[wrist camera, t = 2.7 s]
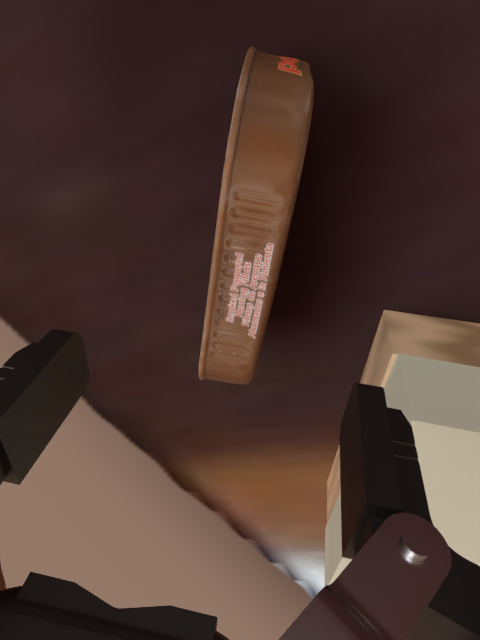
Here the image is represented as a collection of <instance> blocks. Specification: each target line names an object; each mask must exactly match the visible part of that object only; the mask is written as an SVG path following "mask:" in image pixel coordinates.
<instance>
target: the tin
mask: <svg viewBox="0 0 480 640" xmlns="http://www.w3.org/2000/svg"><path fill="white" fill-rule="evenodd" d="M313 100H314V84H313V79H312V76H311V71H310V66H309V64H308V63H307V62H305V61H303V60H299V59H295V58H289V57H282V56H276V55H271V54H266V53H262V52H259V51H257V49H256V48H254V47H250V48H249V50H248V52H247V54H246V57H245V61H244V64H243V67H242V72H241V75H240V80H239V84H238V88H237V93H236V99H235V103H234V109H233V115H232V121H231V127H230V132H229V138H228V143H227V150H226V156H225V164H224V170H223V177H222V185H221V192H220V199H219V207H218V216H217V223H216V231H215V240H214V246H213V255H212V264H211V271H210V281H209V288H208V296H207V305H206V313H205V320H204V329H203V336H202V343H201V351H200V359H199V379H200V380H204V379H210V380H216V381H222V382H227V383H234V384H248V383H249V382H250V381H251V380H252V378H253V375H254V372H255V369H256V365H257V362H258V358H259V354H260V350H261V346H262V342H263V338H264V334H265V330H266V326H267V323H268V318H269V314H270V310H271V306H272V302H273V298H274V294H275V290H276V286H277V282H278V277H279V273H280V269H281V264H282V260H283V255H284V251H285V247H286V243H287V238H288V233H289V228H290V224H291V219H292V215H293V211H294V207H295V202H296V198H297V193H298V188H299V184H300V179H301V174H302V169H303V164H304V158H305V153H306V148H307V142H308V136H309V131H310V124H311V117H312V109H313Z"/></svg>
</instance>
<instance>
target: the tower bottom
mask: <svg viewBox="0 0 480 640" xmlns="http://www.w3.org/2000/svg"><path fill="white" fill-rule="evenodd" d="M398 353H401V354H407V355H412V356H418V357H424V358H429V359H435V360H441V361H447V362H452V363H458V364H464V365H469V366H475V367H480V324H478V323H472V322H465V321H458V320H451V319H444V318H437V317H430V316H424V315H417V314H410V313H403V312H396V311H389V310H384V311H383V314H382V317H381V320H380V323H379V326H378V329H377V332H376V335H375V338H374V341H373V344H372V347H371V350H370V353H369V356H368V359H367V362H366V365H365V368H364V371H363V375H362V378H361V381H360V383H362V384H368V385H373V386H379V387H383V388H384V385H385V383H386V380H387V378H388V376H389V373H390V371H391V368H392V366H393V364H394V361H395V359H396V356H397V354H398ZM340 491H341V484H340V444H339V447H338V450H337V454H336V457H335V460H334V463H333V466H332V469H331V472H330V475H329V478H328V481H327V523H328V520H329V518H330V516H331V513H332V511H333V508H334V506H335V503H336V501H337V499H338V496H339V494H340Z"/></svg>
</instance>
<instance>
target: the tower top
mask: <svg viewBox="0 0 480 640" xmlns="http://www.w3.org/2000/svg"><path fill="white" fill-rule="evenodd" d="M384 391H385V398H386V404H387V407H388V408H394V409H399V410H401V411H402V412H403V414H404V415H405V417H406V418H407V420H408V421H409V423H410V424H411V426H412V430H413V435H414V439H415V447H416V449H417V454H418V462H419V464H420V469H421V473H422V478H423V483H424V488H425V493H426V498H427V502H428V507H429V512H430V517H431V520H432V523H433V525H434V527H436V528H437V529H438V531H439V532H440V533H441V534H442V536H443V537H444V538H445V540H446V542H447V544H448V546H449V547H450V548H451V549H453V550H454V551H455V552H456V553H458V554H459V555H460V556H462V557H464V558H465V559H467V560H469V561H471V562H473V563H475V564H477V565H479V566H480V367H475V366H469V365H464V364H458V363H452V362H447V361H441V360H435V359H429V358H424V357H418V356H412V355H407V354H401V353H398V354H397V356H396V359H395V361H394V364H393V366H392V368H391V371H390V373H389V376H388V378H387V380H386V383H385V385H384ZM351 561H352V559H348V558H344V557H342V532H341V491H340V494H339V496H338V499H337V501H336V503H335V506H334V508H333V511H332V513H331V516H330V518H329V520H328V523H327V525H326V528H325V586H327V585H330V584H332V583H333V582H334V581H335V579H336V578H337V577H338V576H339V575H340V574H341V572H342V571H343V570H344V569H345V568H346V566H347V565H348V564H349V563H350V562H351Z"/></svg>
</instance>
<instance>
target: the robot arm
mask: <svg viewBox="0 0 480 640" xmlns="http://www.w3.org/2000/svg"><path fill="white" fill-rule="evenodd" d="M88 379H89V370H88V365H87V359H86V354H85V349H84V344H83V339H82V336H81V335H80V334H79V333H74V332H68V331H63V330H57V329H53V330H51V331H49V332H48V333H47V334H46V335H45V337H44V338H43V339H42V340H41V341H40V342H39V343H38V344H36V343H32V344H30V345H28V346H26V347H25V348H23V349H21V350H19V351H18V352H16V353H15V354H14V355H13V356H12V357H11V358H10V359H9V360H8V361H7V362H6V363H5V364H4V365H3V367H2V368H0V485H1V483H2V482H3V481H5V482H9V483H14V484H19V485H20V483H21V482H22V480H23V479H24V477H25V476H26V475H27V473H28V472H29V470H30V469H31V467H32V466H33V464H34V463H35V462H36V460H37V459H38V457H39V456H40V454H41V453H42V452H43V450H44V449H45V447H46V446H47V444H48V443H49V441H50V440H51V438H52V437H53V436H54V434H55V433H56V431H57V430H58V428H59V427H60V425H61V424H62V423H63V421H64V420H65V418H66V417H67V415H68V414H69V412H70V411H71V410H72V408H73V407H74V405H75V404H76V402H77V401H78V400H79V398H80V397H81V395H82V394H83V392H84V391H85V389H86V386H87V383H88ZM340 484H341V532H342V557H344V558H348V559H352V561H351V562H350V563H349V564H348V565H347V566H346V568H345V569H344V570H343V571H342V572H341V574H340V575H339V576H338V577H337V578H336V579H335V581H334V582H333V583H332V584H330V585H327V586H325V587H324V588H323V589H322V590H321V591H320V592H319V593H318V594H317V595H316V596H315V598H314V599H313V600H312V601H311V602H310V604H309V605H308V606H307V607H306V608H305V609H304V611H303V612H302V613H301V614H300V615H299V616H298V618H297V619H296V620H295V621H294V622H293V623H292V625H291V626H290V627H289V628H288V629H287V631H286V632H285V633H284V634H283V635H282V636H281V637H280V639H279V640H480V566H479V565H477V564H475V563H473V562H471V561H469V560H467V559H465V558H464V557H462V556H460V555H459V554H458V553H456V552H455V551H454V550H453V549H451V548H450V547H449V546H448V544H447V542H446V540H445V538H444V537H443V536H442V534H441V533H440V532H439V531H438V529H437V528H436V527H434V525H433V523H432V520H431V517H430V512H429V507H428V502H427V498H426V493H425V488H424V483H423V478H422V473H421V469H420V464H419V462H418V454H417V449H416V447H415V439H414V435H413V430H412V426H411V424H410V423H409V421H408V420H407V418H406V417H405V415H404V414H403V412H402V411H401V410H399V409H394V408H388V407H387V404H386V398H385V391H384V388H383V387H379V386H373V385H368V384H362V383H354V385H353V388H352V391H351V394H350V397H349V400H348V404H347V407H346V410H345V413H344V416H343V419H342V424H341V430H340ZM216 626H217V617H215V616H210V615H206V614H202V613H198V612H194V611H190V610H186V609H182V608H178V607H174V606H155V607H141V608H124V609H118V608H114V607H112V606H111V605H109V604H107V603H106V602H104V601H103V600H101V599H100V598H98V597H97V596H95V595H93V594H92V593H90V592H89V591H87V590H86V589H84V588H82V587H81V586H79V585H78V584H76V583H74V582H71V581H66V580H62V579H58V578H54V577H50V576H46V575H42V574H38V573H33V572H30V574H29V576H28V577H27V579H26V581H25V583H24V585H23V586H18V587H14V588H8V589H6V584H5V580H4V576H3V573H2V569H1V563H0V640H229V639H228V638H227V637H225V636H224V635H222V634H221V633H219V632H217V631H216Z"/></svg>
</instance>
